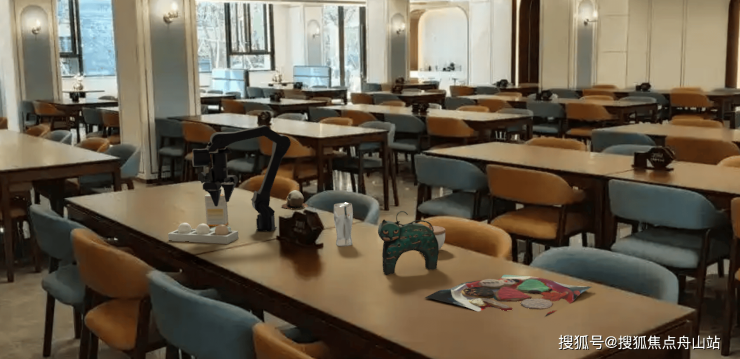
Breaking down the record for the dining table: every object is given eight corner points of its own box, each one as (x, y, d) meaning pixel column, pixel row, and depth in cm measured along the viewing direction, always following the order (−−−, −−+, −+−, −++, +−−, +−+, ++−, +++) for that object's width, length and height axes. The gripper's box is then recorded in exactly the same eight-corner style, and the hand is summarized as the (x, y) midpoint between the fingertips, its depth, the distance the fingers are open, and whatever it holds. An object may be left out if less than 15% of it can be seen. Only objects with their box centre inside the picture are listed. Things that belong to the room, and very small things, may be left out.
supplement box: (228, 223, 340) (227, 193, 338) (225, 226, 335) (223, 195, 333) (209, 224, 341) (207, 193, 338) (206, 226, 336) (204, 195, 334)
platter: (491, 273, 259) (491, 268, 258) (592, 293, 236) (592, 287, 235) (424, 300, 233) (424, 294, 233) (531, 326, 210) (531, 319, 210)
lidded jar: (443, 254, 281) (443, 228, 280) (413, 253, 284) (412, 227, 282) (447, 247, 292) (446, 221, 290) (417, 246, 294) (417, 221, 292)
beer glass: (351, 247, 295) (350, 206, 293) (332, 246, 297) (331, 206, 294) (355, 242, 302) (354, 202, 300) (337, 242, 303) (336, 202, 301)
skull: (275, 204, 374) (287, 186, 377) (290, 217, 379) (303, 199, 382) (286, 207, 364) (299, 189, 367) (302, 220, 369) (315, 202, 372)
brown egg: (231, 236, 312) (230, 223, 312) (224, 239, 308) (224, 225, 307) (219, 236, 314) (218, 222, 313) (212, 238, 309) (211, 225, 308)
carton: (238, 238, 314) (237, 222, 313) (227, 243, 305) (226, 227, 304) (180, 235, 321) (179, 219, 320) (168, 240, 313) (167, 224, 312)
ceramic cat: (381, 276, 257) (380, 214, 254) (376, 271, 263) (374, 210, 260) (440, 270, 262) (440, 209, 259) (434, 265, 268) (433, 205, 265)
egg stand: (231, 231, 325) (230, 226, 325) (223, 235, 319) (223, 230, 319) (216, 230, 327) (216, 226, 327) (209, 234, 321) (208, 229, 321)
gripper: (212, 161, 328) (214, 199, 331) (189, 168, 311) (191, 208, 313) (237, 161, 325) (239, 200, 328) (215, 168, 307) (217, 209, 310)
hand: (221, 204), depth 320 cm, fingers open, 9 cm apart
